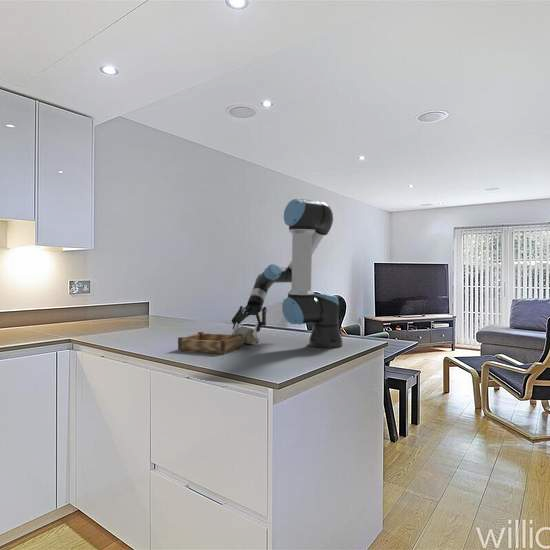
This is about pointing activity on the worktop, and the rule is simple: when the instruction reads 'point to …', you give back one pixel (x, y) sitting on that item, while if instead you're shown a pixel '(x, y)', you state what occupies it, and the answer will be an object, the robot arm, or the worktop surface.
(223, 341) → the crate
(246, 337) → the ceramic mug
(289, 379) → the worktop surface
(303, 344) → the worktop surface
